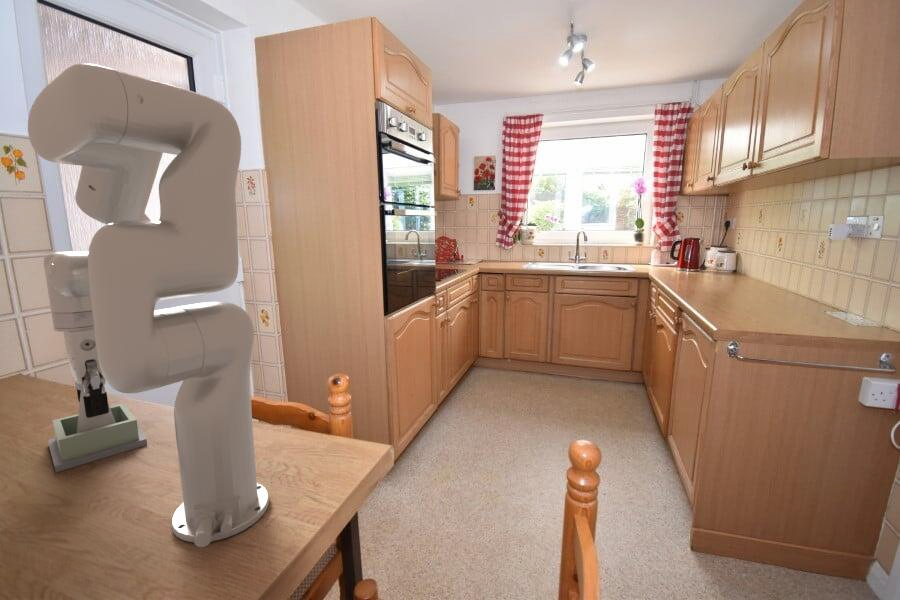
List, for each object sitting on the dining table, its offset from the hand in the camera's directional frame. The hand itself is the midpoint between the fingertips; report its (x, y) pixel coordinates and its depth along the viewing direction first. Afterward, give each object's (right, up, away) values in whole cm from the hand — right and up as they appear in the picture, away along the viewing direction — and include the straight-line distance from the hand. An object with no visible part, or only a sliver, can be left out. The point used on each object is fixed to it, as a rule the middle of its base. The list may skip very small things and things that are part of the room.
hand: (93, 407), depth 79 cm
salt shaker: (0, -7, +1) cm, 7 cm away
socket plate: (0, -8, +1) cm, 8 cm away
